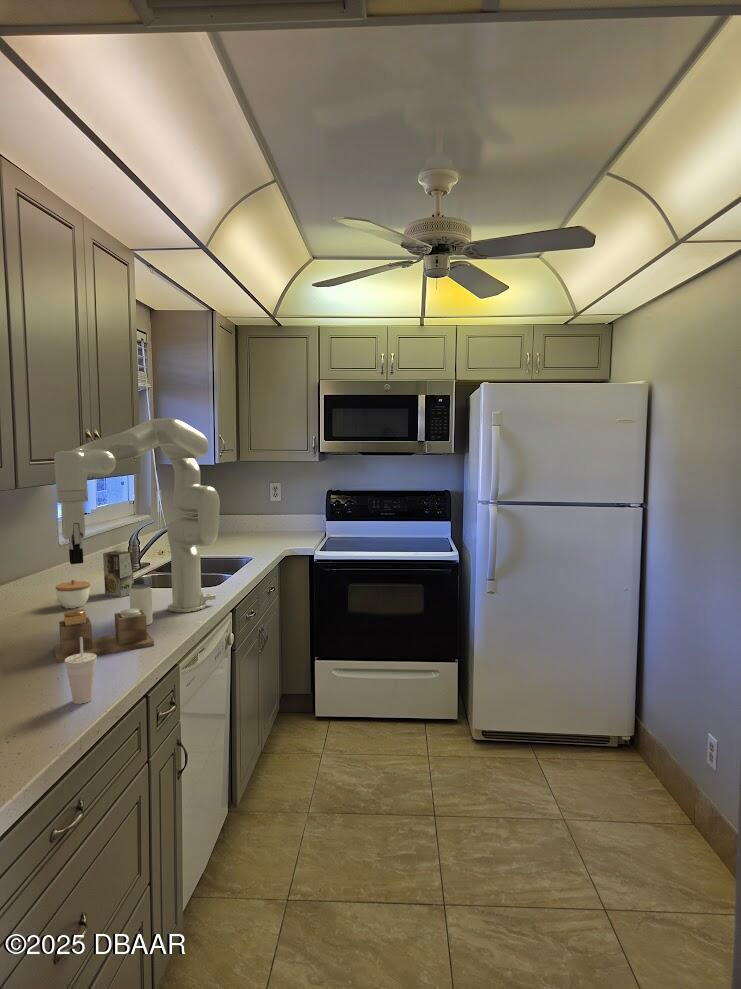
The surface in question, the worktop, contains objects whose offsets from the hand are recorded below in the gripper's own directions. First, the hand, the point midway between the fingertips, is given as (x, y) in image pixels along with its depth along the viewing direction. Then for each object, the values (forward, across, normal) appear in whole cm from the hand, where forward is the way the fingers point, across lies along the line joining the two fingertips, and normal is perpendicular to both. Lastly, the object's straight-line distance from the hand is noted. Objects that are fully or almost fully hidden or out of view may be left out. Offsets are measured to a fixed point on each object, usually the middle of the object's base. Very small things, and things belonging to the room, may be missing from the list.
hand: (76, 563), depth 160 cm
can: (+24, -14, +18) cm, 34 cm away
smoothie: (+24, +38, -4) cm, 45 cm away
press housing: (+24, +3, +5) cm, 25 cm away
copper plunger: (+20, +3, -2) cm, 21 cm away
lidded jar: (+25, -49, +3) cm, 55 cm away
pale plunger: (+22, +3, +12) cm, 26 cm away
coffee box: (+25, -58, +19) cm, 66 cm away
